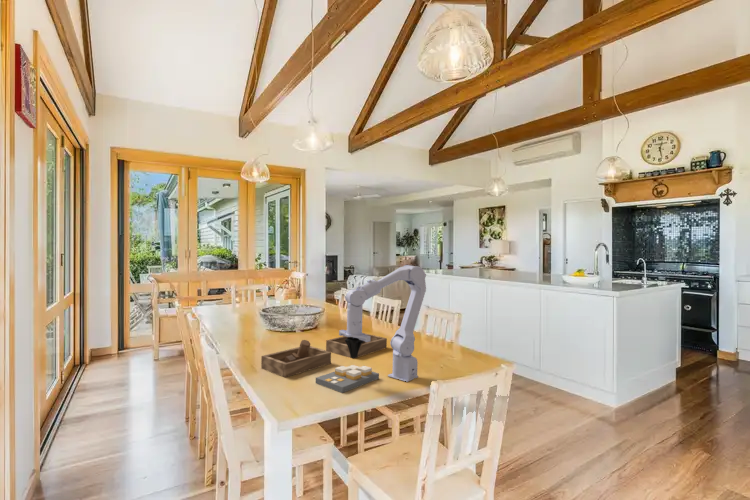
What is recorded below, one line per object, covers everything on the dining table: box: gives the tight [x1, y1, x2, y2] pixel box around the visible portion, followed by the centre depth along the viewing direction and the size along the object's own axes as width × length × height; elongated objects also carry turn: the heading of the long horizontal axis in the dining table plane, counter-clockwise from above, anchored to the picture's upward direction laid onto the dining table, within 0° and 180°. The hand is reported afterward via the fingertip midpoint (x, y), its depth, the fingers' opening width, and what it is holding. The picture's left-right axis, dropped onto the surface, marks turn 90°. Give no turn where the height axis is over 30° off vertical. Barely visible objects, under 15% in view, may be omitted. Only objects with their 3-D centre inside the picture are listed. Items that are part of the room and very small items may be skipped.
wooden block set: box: [285, 339, 311, 363], centre depth 166 cm, size 18×9×10 cm, turn 142°
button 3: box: [347, 364, 360, 370], centre depth 158 cm, size 4×4×2 cm
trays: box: [260, 332, 388, 378], centre depth 181 cm, size 18×60×5 cm, turn 140°
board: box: [315, 371, 380, 394], centre depth 151 cm, size 14×20×2 cm
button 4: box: [334, 365, 350, 377], centre depth 153 cm, size 4×4×2 cm
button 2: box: [346, 369, 361, 380], centre depth 149 cm, size 4×4×2 cm
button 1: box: [357, 365, 373, 376], centre depth 154 cm, size 4×4×2 cm
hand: (353, 357), depth 149 cm, fingers closed
